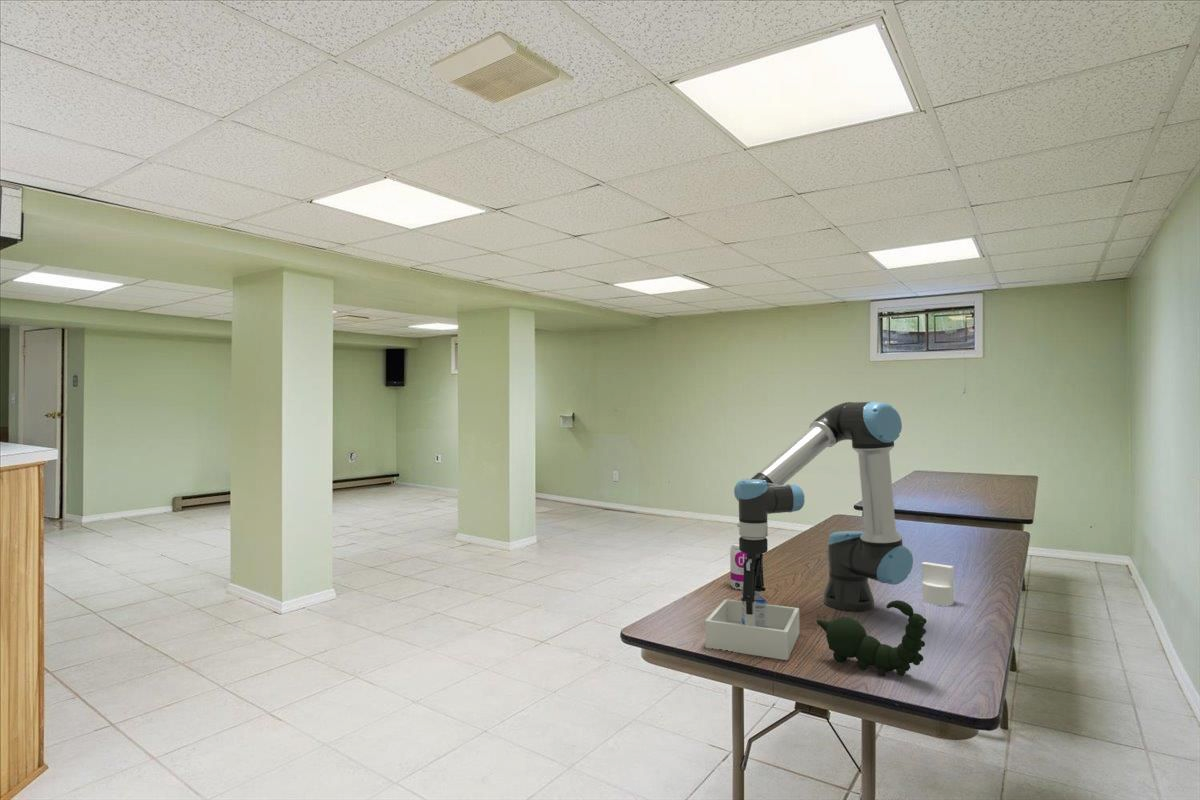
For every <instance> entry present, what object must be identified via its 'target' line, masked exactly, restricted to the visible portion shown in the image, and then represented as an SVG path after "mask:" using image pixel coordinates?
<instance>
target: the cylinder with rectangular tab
mask: <svg viewBox="0 0 1200 800" xmlns="http://www.w3.org/2000/svg"><path fill="white" fill-rule="evenodd" d="M954 585H955V584H954V566H953V565H949V564H947V565H946V564H942V563H934V562H929V561H924V562H921V596H922V597H921V600H923V601H924V602H926V603H925V604H927V603H929V604H928V605H930V604H933V605H932V606H935V605H940V606H939V607H947V606H946V605H952V604H953V603H955V602H954V601H955V600H954V598H955V597H954V596H955V594H954V593H955V591H954V589H955V587H954ZM923 601H922V602H923ZM924 602H923V603H924ZM943 605H944V606H943ZM952 606H953V605H952Z"/></svg>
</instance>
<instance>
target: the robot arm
mask: <svg viewBox="0 0 1200 800" xmlns="http://www.w3.org/2000/svg"><path fill="white" fill-rule="evenodd" d="M902 427H903V425H902V419H901V416H900V413H899V412H898V411H897V409H896V408H894V407H893V405H892V404H889V403H887V402H881V401H880V402H879V401H858V402H857V401H856V402H853V401H848V402H847V401H846V402H842V403H840V404H837V405H834V406H833V407H831V408H829V409H828V410H826V411H825V412H824V413H822V414H821V415H819V416H818V417H816V419H814V420H813V421H812V422H811V423H810V424H809V427H808V428H809V429H808V430H806V431H805V432H804V433H803V434H801V436H800V437H799V438H797V439H796V440H795V441H794V442H792V443H791V444H790V445H789V446H788V447H786V448H785V450H783V451H782V452H781V453H780V454H778V455H777V456H776V457H775V458H773V459H772V460H771V461H770V462H769V463H768V464H767V465H765V466H764V467H763V468H762V469H761V470H759V472H757V473H756V474H755V475H754V476H752V477H751V478H746V479H745V478H744V479H741V480H739V481H737V482H736V484H735V486H734V491H733V492H734V493H733V494H734V497H735V499H736V501H737V502H738V520H739V521H738V523H737V524H736V526H737V527H738V529H739V530H738V531H739V532H738V535H739V536H740V537H739V538H738V543H739V550H740V551H741V552H743V553H746V554H747V559H745V562H744V563H743V565H744V579H743V590H742V592H743V598H742V597H741V600H740V601H745V625H749V626H756V609H755V599H754V598H755V592H757V593H758V594H759V595H760V596H761V597H762V598H763V592H766V587H765V583H764V581H765V580H764V566H763V563H764V561H763V557H764V554H766V553H767V552H768V550H769V549H768V548H769V547H768V546H769V545H768V539H767V537H768V535H769V529H768V525H769V523H768V515H771V514H781V513H783V514H784V513H790V514H791V513H794V512H798V511H801V509H802V508H803V507H804V505H805V499H806V498H805V493H804V491H803V489H802V488H801V487H800V486H799V485H796V484H789V483H788V481H790V480H791V479H792V478H793V477H794V476H795V475H796V474H797V473H799V472H800V471H801V470H802V469H804V467H805V466H807V465H808V464H809V463H810V462H811V461H813V460H814V459H815V458H816V457H817V456H818V455H820V454H821V452H823V451H824V450H825V449H827V448H832V447H834V446H835V445H836V444H838V443H839V442H842V441H847V440H849V441H850V440H851V447H852V449H853V450H854V451H856V453H857V454H858V465H859V466H858V467H859V476H860V489H861V490H860V491H861V500H862V501H861V502H862V513H863V524H864V531H863V530H862V531H861V530H845V531H835V532H834V531H833V532H832V533H830V535H828V536H829V537H828V544H827V548H828V580H827V583H826V586H825V589H824V592H823V603H824V604H825V605H826V606H828V607H831V608H834V609H837V610H844V611H851V612H852V611H854V612H861V611H862V612H863V611H870V610H872V609H874V607H875V598H874V595H873V591H872V590H871V586H870V583H869V579H870V580H874V581H876V582H879V583H882V584H887V585H892V586H893V585H899V584H901V583H903V582H904V581H906V579H907V578H908V577H909V575H910V574H911V572H912V569H913V565H914V556H913V554H912V551H910V549H909V548H908V547H906V546H904V545H903V536H902V535H901V534H900V533H898V532H897V529H896V515H895V506H894V505H895V503H894V493H893V482H892V472H891V471H892V469H891V468H892V467H891V459H890V452H891V450H892V449H893V448H894V447H895V441H896V440H898V438H900V433H901V432H902V429H903V428H902ZM787 483H788V484H787ZM748 596H750V597H748Z"/></svg>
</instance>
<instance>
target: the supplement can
mask: <svg viewBox="0 0 1200 800" xmlns="http://www.w3.org/2000/svg"><path fill="white" fill-rule="evenodd" d="M729 550H730V559H729V561H730V562H729V563H730V566H729V567H730V568H729V569H730V571H729V572H730V573H729V574H730V586H731V587H732V589H734V588H735V589H734V590H737V589H740V590H739V591H743V579H744V565H743V563H744V562H745V559H747V554H746V553H743V552H741V551H740V550H739V542H734V543H732V544H731V547H730V549H729Z"/></svg>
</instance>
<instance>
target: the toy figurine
mask: <svg viewBox="0 0 1200 800" xmlns="http://www.w3.org/2000/svg"><path fill="white" fill-rule="evenodd" d="M892 608H895V609H898V611H900V612H901V614H903V615H905V616H908V619H907V621H908V623H907V624H906V625H905V629H904V630H905V631H904V632H905V633H904V634H903V635H902V638H901V643H899V644H898V646H895V647H892V646H890V645H889V644H885V643H881V642H880V641H879V640H878V639H877V638H876V637H873V636H871V635H869V634H868V633H867V631H866V629H865V627H864V626H863V624H861V623H860V622H859V621H858V620H856V619H854V618H853V617H848V616H841V617H837V618H835V619H833V620H831V621H829V620H822V619H815V622H816V623H817V624H818V626H819V627H820V628H821V629H822V630H823V631H824V632H825V634H826V635H825V636H826V638H825V639H826V641H827V644H828V649H829V650H831V651H833V654H832V656H833V660H834V661H835V662H837V663H842V664H843V663H844V662H847V660H848V659H854V658H855V659H856V660H857V661H856V665H857V667H858V669H860V670H863V671H865V670H867V668H869V666H872V667H873V666H874V668H876V673H877V675H879V676H881V677H885V676H886V674H887V673H890V672H892V671H896V675H898V676H900V677H904V676H906V674H907V672H908V671H910V669H911V664H913V666H914V665H915V666H920V664H921V662H923V661H924V656H923V654H921V653H919V652H920V651H922V648H924V647H925V646H926V642H925V641H924V640H922V639H923V637H924V635H926V633H927V630H926V629H925V628H924V627H925V625H926V624H927V622H928V621H927V619H926V618H925V617H923V616H922V615H921V614H920V613H916V612H915V613H914V609H913V607H912V605H910V604H909V603H908V602H906V601H904V600H899V599H898V600H897V599H896V600H892V601H890V602H889V603H887V605H886V609H892Z"/></svg>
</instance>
